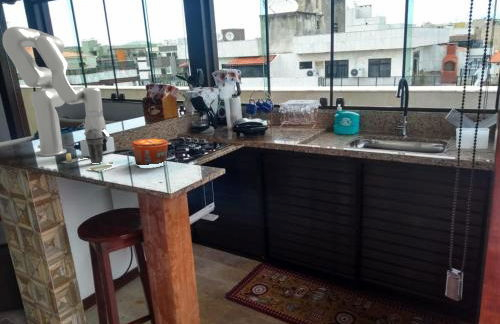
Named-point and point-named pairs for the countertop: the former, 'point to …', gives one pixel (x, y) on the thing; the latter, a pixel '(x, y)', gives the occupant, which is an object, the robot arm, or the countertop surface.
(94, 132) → the beverage cup
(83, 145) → the cover
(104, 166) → the board
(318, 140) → the countertop surface
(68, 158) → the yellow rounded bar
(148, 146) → the food container
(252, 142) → the countertop surface
